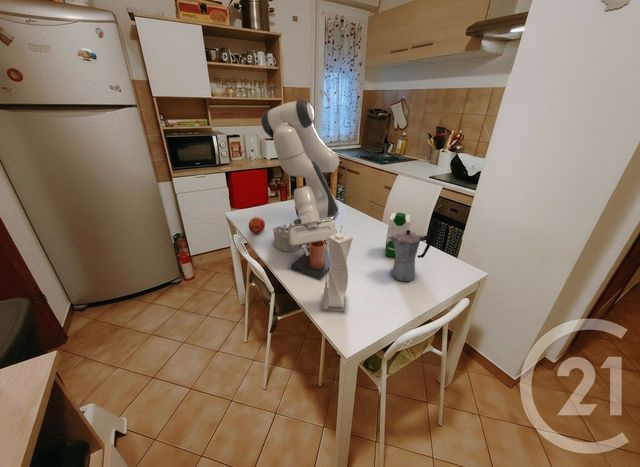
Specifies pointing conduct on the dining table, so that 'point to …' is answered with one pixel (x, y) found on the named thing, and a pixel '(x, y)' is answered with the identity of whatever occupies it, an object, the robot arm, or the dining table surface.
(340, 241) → the skyscraper
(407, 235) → the moka pot
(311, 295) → the dining table surface
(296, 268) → the dark grey flat block
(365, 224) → the dining table surface
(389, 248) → the milk carton
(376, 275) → the dining table surface
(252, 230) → the apple
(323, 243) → the cup
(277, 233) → the lumpy-topped squat cylinder
